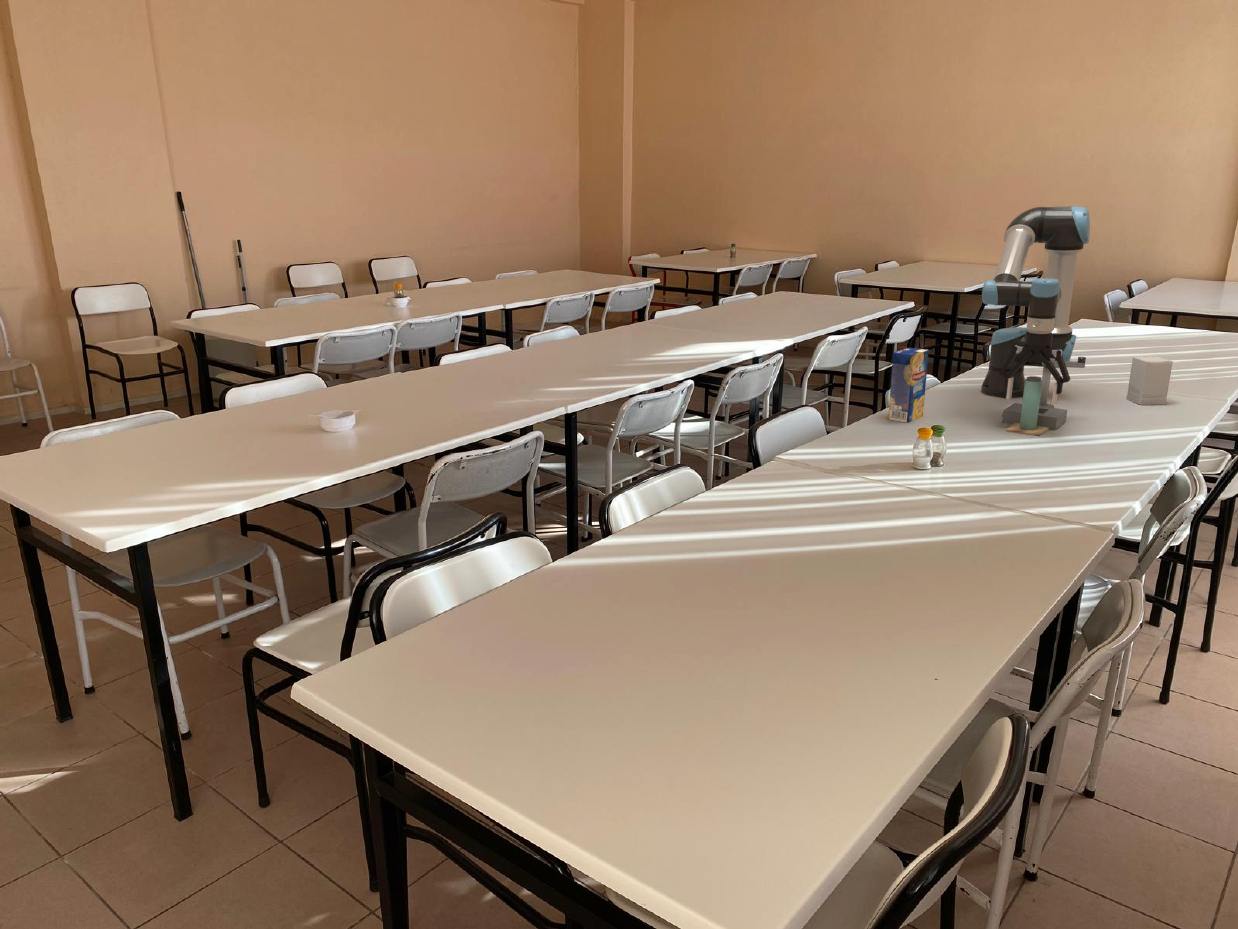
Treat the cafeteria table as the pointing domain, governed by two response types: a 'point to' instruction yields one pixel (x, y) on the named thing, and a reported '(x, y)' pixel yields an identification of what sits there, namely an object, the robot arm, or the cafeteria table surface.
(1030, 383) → the plug
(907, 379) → the blue food box
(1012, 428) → the cork mat
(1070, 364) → the clip
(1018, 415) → the socket block
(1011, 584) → the cafeteria table surface
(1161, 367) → the supplement box
